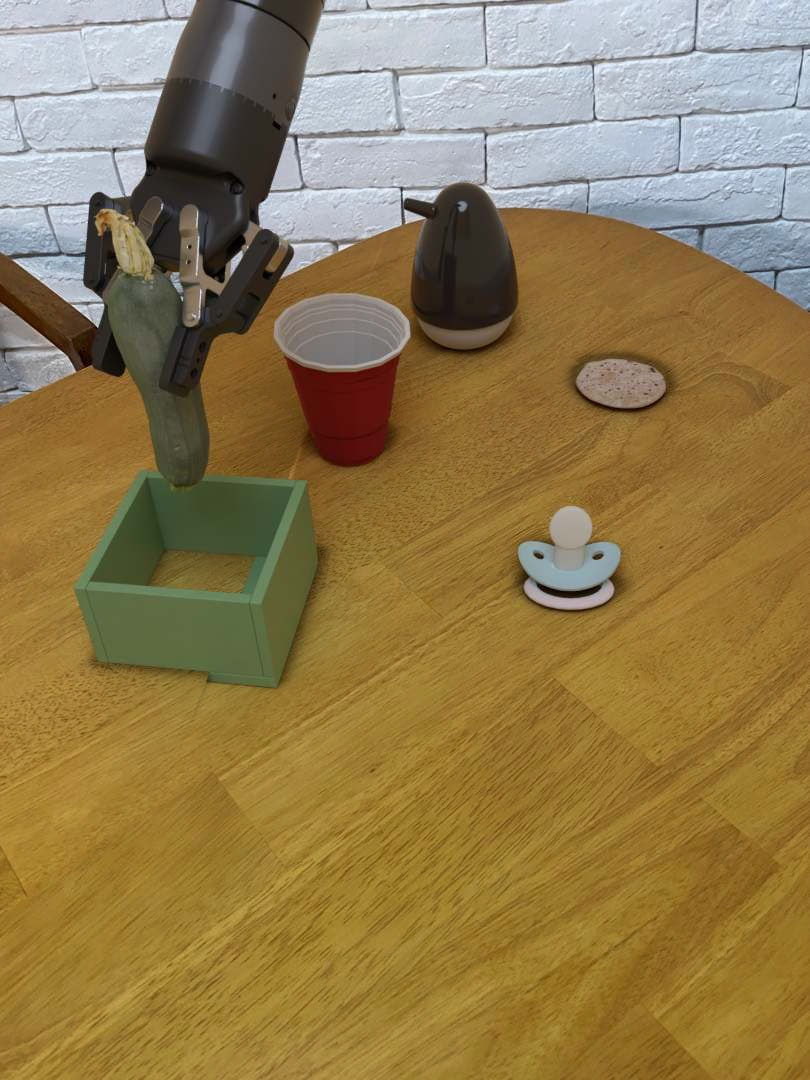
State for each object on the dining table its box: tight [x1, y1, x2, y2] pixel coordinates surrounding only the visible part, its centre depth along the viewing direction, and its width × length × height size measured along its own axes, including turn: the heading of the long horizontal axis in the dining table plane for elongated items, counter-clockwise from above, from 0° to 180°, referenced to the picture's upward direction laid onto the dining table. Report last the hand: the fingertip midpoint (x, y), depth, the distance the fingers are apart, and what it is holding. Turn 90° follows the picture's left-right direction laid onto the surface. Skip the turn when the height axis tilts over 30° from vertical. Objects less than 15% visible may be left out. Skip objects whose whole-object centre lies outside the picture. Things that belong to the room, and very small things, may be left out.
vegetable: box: [94, 209, 211, 493], centre depth 68 cm, size 4×4×20 cm
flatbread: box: [575, 358, 667, 409], centre depth 100 cm, size 8×8×1 cm
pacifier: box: [517, 505, 622, 611], centre depth 80 cm, size 7×6×6 cm
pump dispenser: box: [402, 181, 520, 350], centre depth 104 cm, size 10×10×15 cm
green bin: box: [73, 469, 319, 689], centre depth 79 cm, size 13×13×8 cm
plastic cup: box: [273, 292, 411, 468], centre depth 92 cm, size 11×11×12 cm
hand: (139, 381), depth 66 cm, fingers closed on vegetable, 4 cm apart
